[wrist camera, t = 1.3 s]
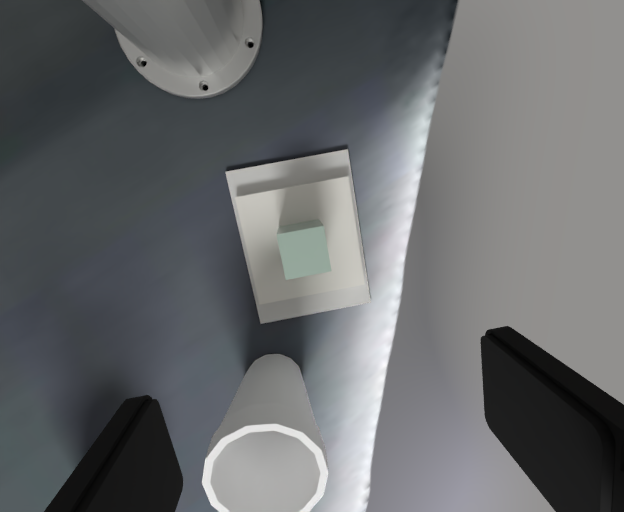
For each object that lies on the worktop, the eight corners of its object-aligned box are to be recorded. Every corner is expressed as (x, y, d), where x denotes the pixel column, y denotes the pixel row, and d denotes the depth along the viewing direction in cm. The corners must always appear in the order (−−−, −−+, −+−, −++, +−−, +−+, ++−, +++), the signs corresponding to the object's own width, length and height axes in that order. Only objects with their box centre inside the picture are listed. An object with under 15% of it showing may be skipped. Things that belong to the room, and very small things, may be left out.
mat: (226, 171, 33) (225, 171, 33) (347, 149, 33) (347, 149, 33) (260, 322, 37) (260, 323, 36) (369, 301, 37) (370, 302, 37)
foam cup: (329, 358, 38) (348, 447, 26) (297, 425, 40) (299, 540, 27) (249, 329, 37) (227, 407, 24) (219, 399, 38) (184, 507, 26)
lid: (236, 196, 33) (224, 200, 27) (346, 176, 34) (358, 175, 28) (260, 301, 36) (254, 324, 30) (362, 281, 36) (376, 301, 30)
